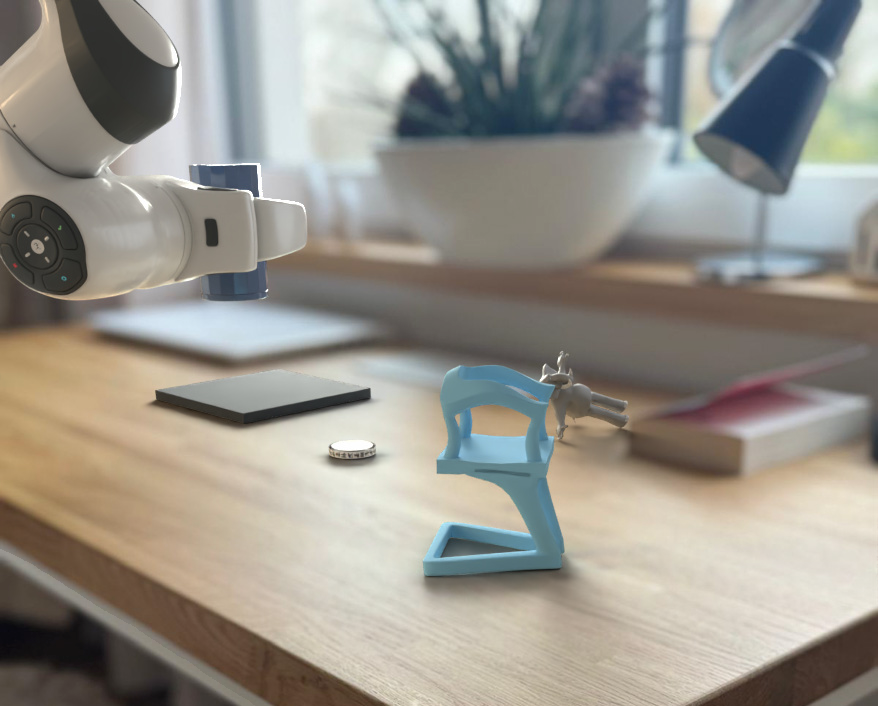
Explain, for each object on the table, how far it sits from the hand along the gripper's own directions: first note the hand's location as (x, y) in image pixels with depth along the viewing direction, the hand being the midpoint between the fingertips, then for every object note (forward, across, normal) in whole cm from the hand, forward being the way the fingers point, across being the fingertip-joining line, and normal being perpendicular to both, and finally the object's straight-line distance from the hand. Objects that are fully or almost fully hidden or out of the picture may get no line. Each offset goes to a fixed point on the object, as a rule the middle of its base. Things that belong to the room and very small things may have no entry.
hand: (234, 220), depth 103 cm
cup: (-1, 0, -7) cm, 7 cm away
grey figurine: (-1, +34, -18) cm, 38 cm away
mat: (+4, 0, -18) cm, 18 cm away
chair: (-36, +36, -18) cm, 53 cm away
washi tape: (-15, +17, -18) cm, 29 cm away
